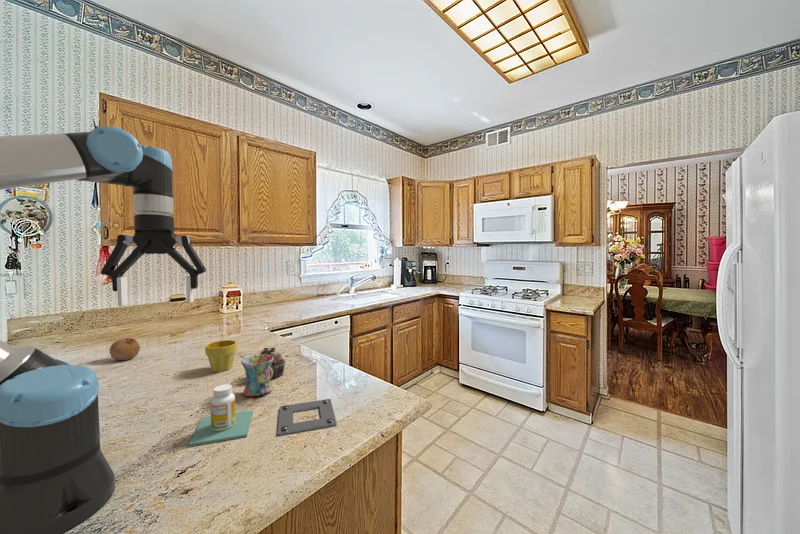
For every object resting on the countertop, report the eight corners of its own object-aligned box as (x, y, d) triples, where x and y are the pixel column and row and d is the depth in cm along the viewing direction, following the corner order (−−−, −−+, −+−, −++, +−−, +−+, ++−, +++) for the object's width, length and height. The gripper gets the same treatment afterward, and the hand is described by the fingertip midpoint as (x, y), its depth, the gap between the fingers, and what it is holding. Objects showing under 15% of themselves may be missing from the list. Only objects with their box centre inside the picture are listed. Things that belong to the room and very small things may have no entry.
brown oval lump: (136, 365, 130) (147, 344, 130) (107, 366, 122) (118, 343, 122) (131, 353, 135) (141, 332, 135) (103, 353, 128) (113, 331, 127)
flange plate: (336, 425, 80) (336, 421, 80) (277, 435, 75) (277, 432, 75) (330, 400, 93) (330, 397, 93) (280, 408, 88) (280, 405, 88)
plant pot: (224, 375, 112) (223, 348, 112) (199, 373, 114) (198, 347, 113) (243, 365, 123) (242, 340, 122) (219, 363, 124) (219, 339, 124)
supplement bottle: (228, 417, 82) (227, 381, 82) (240, 423, 79) (239, 385, 79) (206, 427, 78) (205, 389, 77) (218, 434, 75) (217, 394, 74)
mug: (236, 394, 97) (235, 360, 97) (263, 383, 105) (262, 352, 105) (258, 404, 91) (257, 368, 90) (285, 392, 98) (285, 359, 98)
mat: (246, 436, 75) (246, 434, 75) (188, 446, 71) (188, 444, 71) (252, 412, 86) (252, 410, 86) (202, 419, 82) (202, 417, 82)
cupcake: (285, 378, 109) (285, 350, 109) (255, 383, 105) (254, 354, 105) (285, 369, 118) (284, 343, 118) (256, 373, 114) (256, 346, 114)
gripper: (217, 218, 82) (219, 298, 83) (97, 214, 74) (101, 303, 75) (210, 215, 75) (212, 303, 76) (77, 210, 67) (81, 309, 68)
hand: (157, 303), depth 75 cm, fingers open, 13 cm apart
